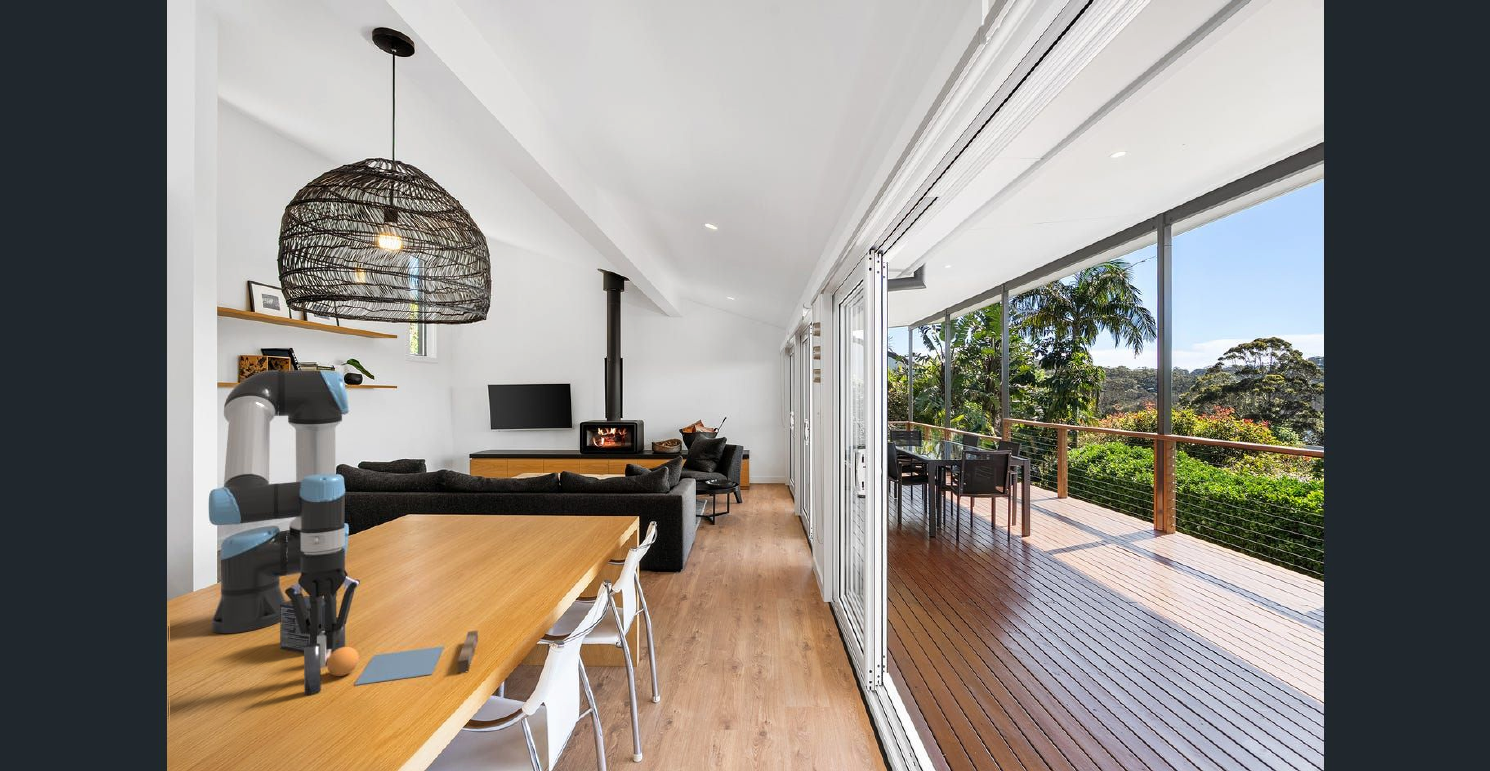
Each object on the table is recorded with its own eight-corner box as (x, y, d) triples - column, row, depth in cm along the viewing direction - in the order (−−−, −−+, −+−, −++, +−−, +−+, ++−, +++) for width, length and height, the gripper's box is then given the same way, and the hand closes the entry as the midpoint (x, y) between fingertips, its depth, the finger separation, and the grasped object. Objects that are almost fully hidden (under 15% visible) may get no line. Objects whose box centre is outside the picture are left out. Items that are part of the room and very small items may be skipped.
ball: (362, 668, 129) (332, 672, 127) (362, 641, 129) (332, 645, 128) (353, 677, 124) (322, 682, 122) (354, 649, 124) (322, 653, 122)
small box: (339, 643, 141) (338, 598, 141) (311, 655, 135) (310, 608, 135) (307, 637, 145) (306, 594, 145) (278, 649, 139) (278, 603, 139)
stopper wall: (468, 642, 141) (468, 631, 141) (477, 641, 141) (477, 630, 141) (457, 673, 126) (457, 661, 126) (468, 671, 126) (468, 659, 126)
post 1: (307, 689, 119) (307, 644, 119) (322, 687, 120) (322, 642, 120) (302, 696, 117) (301, 649, 117) (318, 694, 118) (317, 647, 118)
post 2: (333, 658, 133) (333, 617, 133) (347, 656, 134) (346, 616, 134) (329, 663, 131) (328, 621, 131) (343, 661, 132) (342, 620, 132)
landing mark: (374, 655, 134) (374, 655, 134) (444, 647, 138) (444, 646, 138) (354, 685, 121) (354, 684, 121) (432, 674, 125) (432, 673, 125)
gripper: (277, 557, 120) (278, 677, 119) (352, 552, 123) (353, 668, 123) (294, 548, 127) (295, 661, 126) (364, 543, 130) (365, 653, 130)
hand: (323, 664), depth 125 cm, fingers closed
